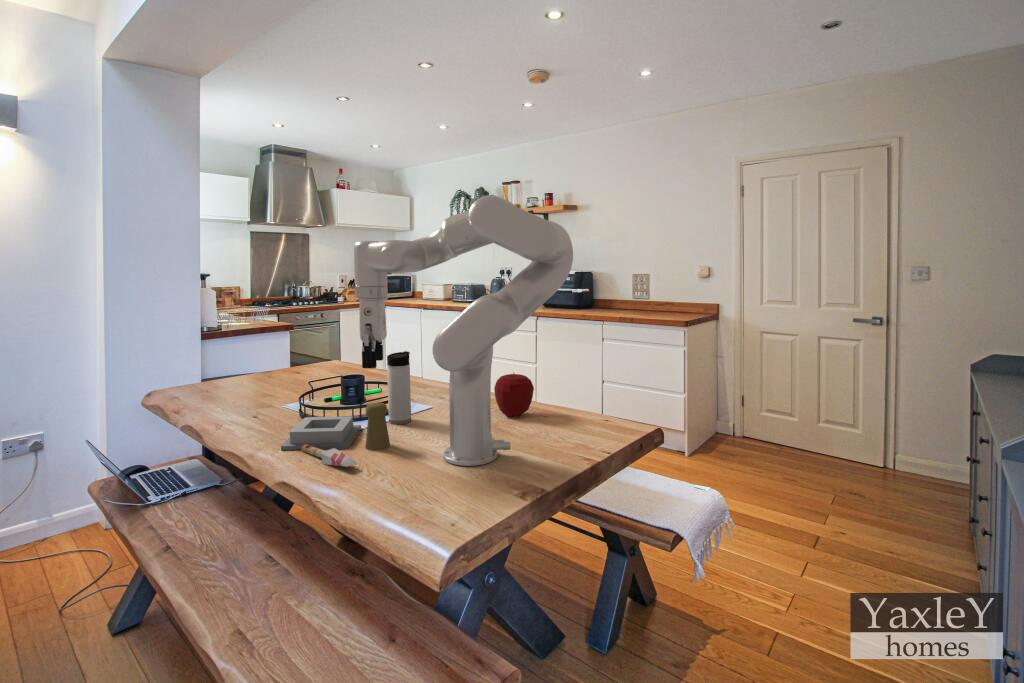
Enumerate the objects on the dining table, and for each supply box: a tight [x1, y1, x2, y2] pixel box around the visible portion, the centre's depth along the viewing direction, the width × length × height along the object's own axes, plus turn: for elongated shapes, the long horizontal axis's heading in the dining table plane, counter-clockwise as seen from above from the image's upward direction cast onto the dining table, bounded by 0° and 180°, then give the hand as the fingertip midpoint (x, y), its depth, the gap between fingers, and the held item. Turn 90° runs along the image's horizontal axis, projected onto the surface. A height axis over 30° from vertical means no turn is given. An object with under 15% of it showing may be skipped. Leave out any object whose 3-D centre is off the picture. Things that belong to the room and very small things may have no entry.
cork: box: [364, 401, 391, 452], centre depth 132 cm, size 6×6×11 cm
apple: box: [493, 372, 535, 419], centre depth 158 cm, size 12×12×13 cm
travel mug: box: [386, 350, 412, 425], centre depth 152 cm, size 6×7×20 cm
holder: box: [280, 416, 362, 451], centre depth 138 cm, size 16×16×4 cm
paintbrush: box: [301, 444, 358, 468], centre depth 123 cm, size 4×3×20 cm
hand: (373, 364), depth 130 cm, fingers open, 9 cm apart
